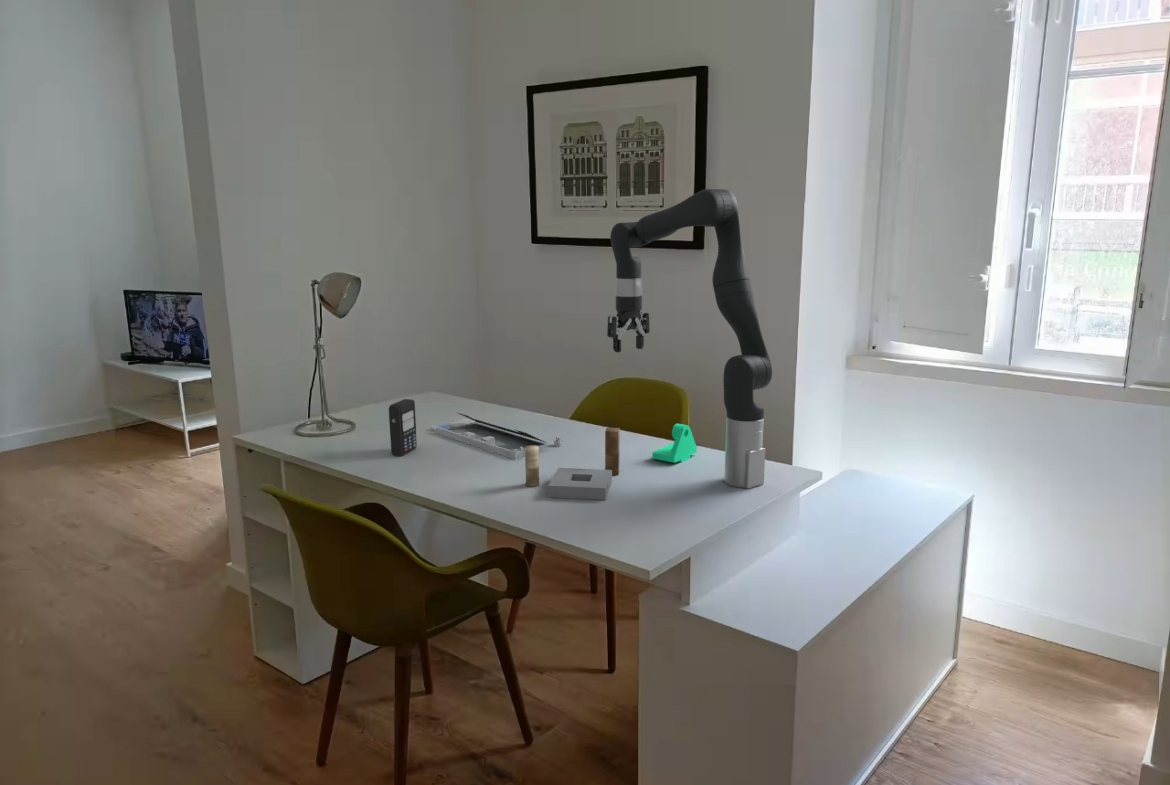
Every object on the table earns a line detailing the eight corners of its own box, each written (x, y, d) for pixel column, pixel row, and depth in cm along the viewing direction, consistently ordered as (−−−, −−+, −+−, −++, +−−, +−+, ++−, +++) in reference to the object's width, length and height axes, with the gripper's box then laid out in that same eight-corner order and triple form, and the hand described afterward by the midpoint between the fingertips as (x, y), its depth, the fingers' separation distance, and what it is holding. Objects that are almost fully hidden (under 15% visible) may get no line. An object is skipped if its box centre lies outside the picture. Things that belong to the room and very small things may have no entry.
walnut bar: (619, 471, 222) (619, 428, 219) (617, 475, 219) (618, 431, 216) (606, 470, 222) (606, 427, 220) (605, 474, 219) (605, 431, 216)
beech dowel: (541, 485, 211) (541, 447, 209) (530, 488, 209) (529, 450, 207) (534, 481, 214) (533, 444, 212) (523, 484, 212) (522, 446, 210)
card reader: (402, 457, 235) (399, 406, 231) (389, 456, 236) (386, 405, 233) (418, 448, 243) (416, 399, 240) (406, 447, 244) (404, 398, 241)
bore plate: (611, 481, 214) (611, 469, 214) (605, 499, 201) (605, 488, 200) (558, 478, 216) (558, 467, 216) (548, 497, 203) (548, 485, 202)
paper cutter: (515, 461, 233) (515, 442, 231) (425, 430, 264) (424, 414, 262) (563, 447, 245) (562, 429, 244) (471, 420, 276) (470, 404, 275)
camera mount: (673, 451, 240) (674, 417, 238) (696, 456, 236) (697, 421, 233) (650, 461, 231) (651, 425, 229) (674, 466, 226) (675, 430, 224)
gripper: (618, 296, 228) (618, 355, 232) (656, 293, 237) (655, 349, 241) (601, 294, 234) (601, 351, 238) (638, 291, 243) (637, 346, 246)
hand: (628, 350), depth 239 cm, fingers open, 8 cm apart
